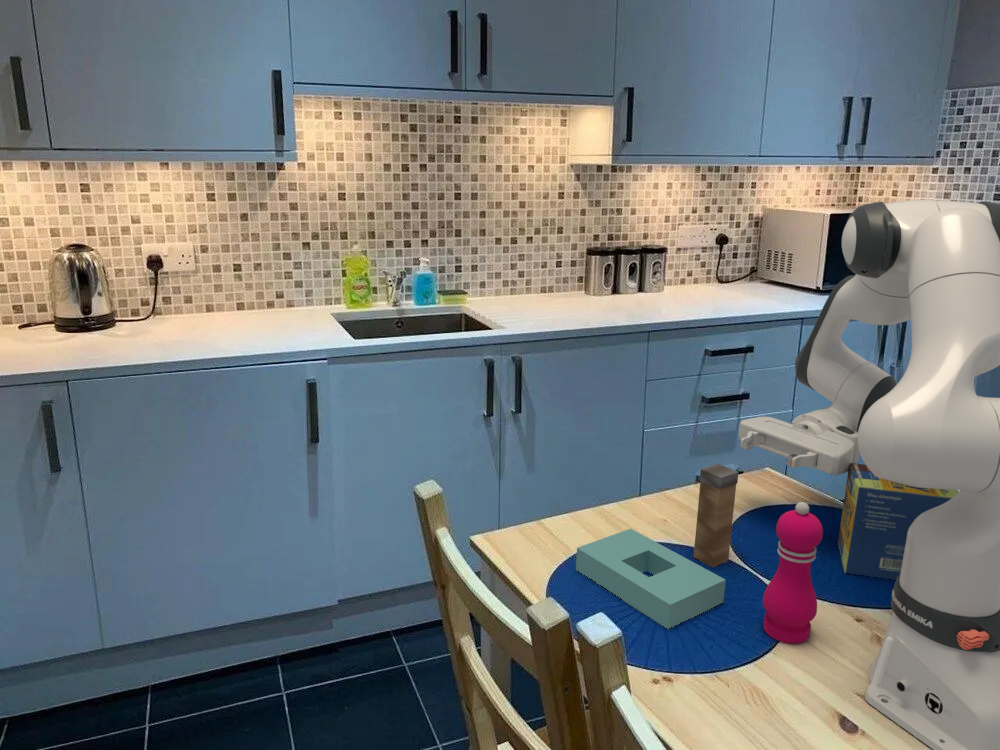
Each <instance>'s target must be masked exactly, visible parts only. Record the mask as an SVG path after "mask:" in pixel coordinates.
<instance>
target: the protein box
mask: <svg viewBox="0 0 1000 750" xmlns="http://www.w3.org/2000/svg"><path fill="white" fill-rule="evenodd" d="M846 479H847V480H846V484H845V492H844V499H843V505H842V514H841V519H840V526H839V533H838V539H837V547H838V546H839V547H838V550H840V551H839V555H841V556H840V559H841V563H842V567H843V571H844V574H846V573H851V574H850V575H853V574H859V575H865V576H864V577H866V576H873V577H880V578H886V579H885V580H887V579H893V580H892V581H894V579H895V580H896V578H897V576H898V575H900V573H901V567H902V561H903V555H904V550H905V544H906V538H907V533H908V530H909V527H910V526H911V524H912V523H913V521H914V520H915V519H916V518H917V517H918V516H919V515H920V514H922V513H924V512H925V511H927V510H930V509H932V508H935V507H937V506H940V505H942V504H944V503H946V502H947V501H949V500H950V499H951V498H953V497H954V496H955V495H956V494H957V493H958V492H959V490H947V489H931V488H917V487H913V486H908V485H904V484H900V483H896V482H892V481H889V480H885V479H881V478H878V477H876V476H875V475H874V474H873V473H872V472H871V471H870V470H869V468H868V467H867V466H866V464H862V463H857V464H855V463H851V464H850V466H849V471H847V477H846ZM859 575H858V576H859ZM873 577H872V578H873ZM880 578H879V579H880Z"/></svg>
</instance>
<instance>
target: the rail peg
mask: <svg viewBox="0 0 1000 750" xmlns="http://www.w3.org/2000/svg"><path fill="white" fill-rule="evenodd" d="M738 480H739V471H738V470H735V469H732V468H730V467H728V466H724V465H722V464H720V463H716V464H713V465H710V466H706V467H702V468H700V473H699V482H700V484H699V493H698V504H697V515H696V527H695V537H694V547H693V548H694V549H693V557H694V558H693V559H695V558H696V559H698V560H699V562H700V561H701V562H700V563H702V562H703V563H702V564H704V563H705V564H704V565H706V566H707V567H710V566H711V567H713V568H716V567H718V566H720V565H722V564H721V563H723V564H725V563H727V562H729V560H730V559H729V557H730V548H731V539H732V538H731V537H732V528H733V519H734V512H735V511H734V509H735V500H736V499H735V498H736V490H737V484H738ZM696 559H695V560H696ZM698 560H697V561H698ZM719 564H720V565H719ZM717 565H718V566H717ZM715 566H716V567H715ZM711 567H710V568H711Z"/></svg>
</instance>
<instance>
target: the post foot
mask: <svg viewBox="0 0 1000 750" xmlns="http://www.w3.org/2000/svg"><path fill="white" fill-rule="evenodd" d="M575 557H576V559H575V571H576V572H578V571H579V572H578V573H580V574H581V573H582V574H581V575H582V576H584V575H585V576H584V577H586V576H587V577H588V579H589V578H590V579H592V580H593V581H592V580H591V581H592V582H594V581H595V582H596V583H595V582H594V583H595V584H597V585H598V584H599V585H598V586H600V585H601V586H603V587H604V588H606V589H607V590H609V591H610V592H609V591H608V592H609V593H611V592H612V593H613V594H612V593H611V594H612V595H614V594H615V595H616V596H615V595H614V596H615V597H617V596H618V597H619V598H618V597H617V598H618V599H620V598H621V599H622V600H621V599H620V600H621V601H623V602H624V603H626V604H628V605H629V606H631V607H633V609H635V610H637V611H638V612H640V613H642V614H644V615H645V616H646V617H648V618H649V617H650V619H651V620H652V619H653V620H652V621H654V622H655V623H657V624H659V625H660V626H662V627H663V626H664V627H663V628H665V629H666V628H667V629H666V630H670V629H672V628H675V627H676V626H675V625H677V626H678V624H679V625H680V623H681V622H683V623H685V622H687V621H689V620H691V619H693V618H696V617H697V615H698V616H700V615H702V614H704V613H706V612H708V611H710V610H712V609H714V608H713V607H715V606H717V605H719V604H721V603H723V604H724V601H725V600H724V599H725V592H726V591H725V590H726V581H727V580H726V579H725V578H723V577H722V576H719V575H718V574H716V573H714V572H712V571H711V570H709V569H706V568H705V567H703V566H701V565H699V564H698V563H695V562H694V561H692V560H690V559H688V558H686V557H684V556H683V555H680V554H679V553H677V552H675V551H673V550H672V549H669V548H668V547H666V546H664V545H662V544H661V543H658V542H656V541H655V540H653V539H651V538H649V537H648V536H645V535H644V534H642V533H640V532H638V531H636V530H634V529H632V528H628V529H625V530H623V531H619V532H617V533H614V534H612V535H610V536H606V537H602V538H600V539H598V540H595V541H593V542H590V543H586V544H583V545H581V546H578V547H576V556H575ZM644 571H649V572H650V573H652V574H654V575H653V576H652V575H651V576H648V575H646V574H645V573H644V574H643V572H644ZM587 577H586V578H587ZM590 579H589V580H590ZM601 586H600V587H601ZM603 587H602V588H603ZM604 588H603V589H604ZM606 589H605V590H606ZM607 590H606V591H607ZM721 605H722V604H721ZM719 606H720V605H719ZM717 607H718V606H717ZM711 608H712V609H711ZM715 608H716V607H715ZM709 609H710V610H709ZM707 610H708V611H707ZM705 611H706V612H705ZM703 612H704V613H703ZM701 613H702V614H701ZM699 614H700V615H699ZM695 616H696V617H695ZM690 618H691V619H690ZM688 619H689V620H688ZM686 620H687V621H686ZM684 621H685V622H684ZM681 624H682V623H681ZM671 627H672V628H671ZM669 628H670V629H669Z"/></svg>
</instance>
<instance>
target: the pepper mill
mask: <svg viewBox="0 0 1000 750" xmlns="http://www.w3.org/2000/svg"><path fill="white" fill-rule="evenodd" d="M775 528H776V529H775V532H776V535H777V537H778V539H779V541H778V542H777V546H778V548H777V550H776V551H777V554H778V556H779V562H778V567H777V570H776V572H775V574H774V575H773V577H772V578H771V580H770V581H769V583H768V584H767V586H766V588H765V591H764V593H763V597H762V606H763V608H764V610H765V614H764V616H763V617H764V618H763V630H764V632H765V633H766V634H767V635H768V636H769V637H771V638H772V639H774V640H776V641H778V642H780V643H785V644H791V645H793V644H794V645H795V644H796V645H797V644H802V643H804V642H806V641H808V640H809V638H810V636H811V629H812V628H811V627H812V625H811V621H813V620H814V619H815V617H816V616H817V613H818V600H817V594H816V591H815V589H814V586H813V582H812V575H811V565H812V563H813V562H814V561H815V560H816V557H817V555H816V554H817V546H818V545H819V544H820V543H821V541H822V540H823V536H824V528H823V525H822V523H821V520H820V519H818V517H817V516H816V515H814V514H813V513H811V512H810V506H809V505H808V503H806V502H805V501H800V502H797V504H796V505H795V508H794V509H793V510H789V511H786V512H783V514H781V515H780V516H779V518H778V520H777V523H776V527H775Z"/></svg>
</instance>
